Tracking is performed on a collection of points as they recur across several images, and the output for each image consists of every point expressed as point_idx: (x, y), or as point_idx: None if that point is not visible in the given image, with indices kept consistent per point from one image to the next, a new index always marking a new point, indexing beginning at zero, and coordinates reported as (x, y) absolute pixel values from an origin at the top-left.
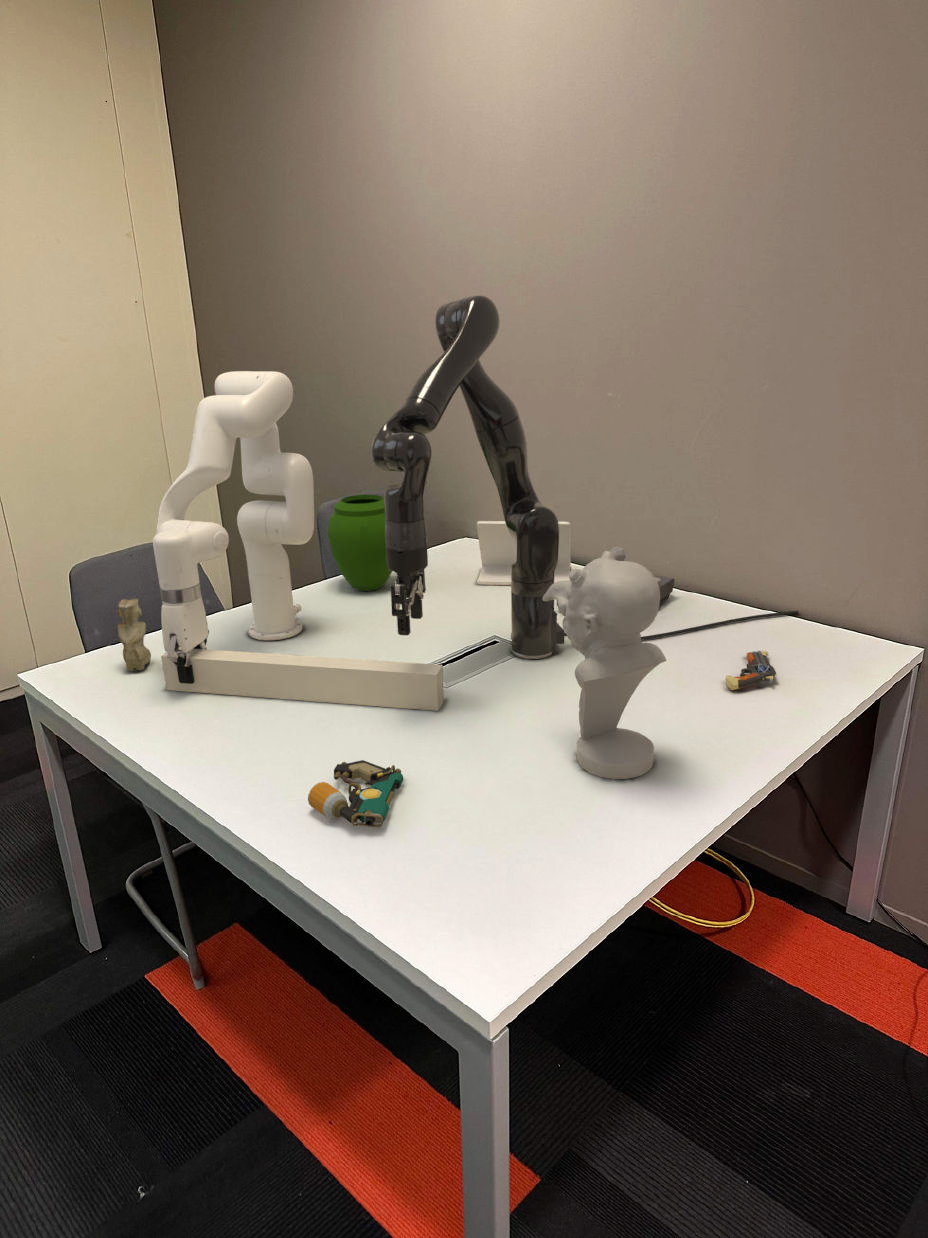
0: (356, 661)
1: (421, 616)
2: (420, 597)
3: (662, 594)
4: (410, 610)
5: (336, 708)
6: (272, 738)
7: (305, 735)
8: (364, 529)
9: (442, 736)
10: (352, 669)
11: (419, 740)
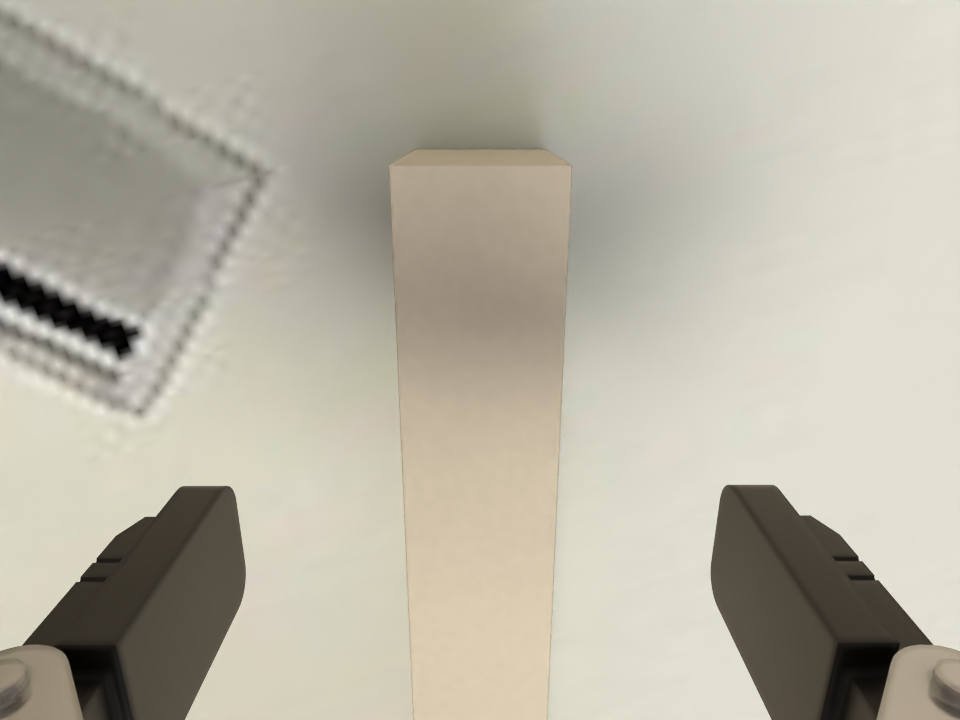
0: (444, 681)
1: (223, 494)
2: (76, 698)
3: None
4: (213, 659)
5: (576, 596)
6: None
7: None
8: None
9: (825, 51)
10: (548, 669)
11: (865, 162)
